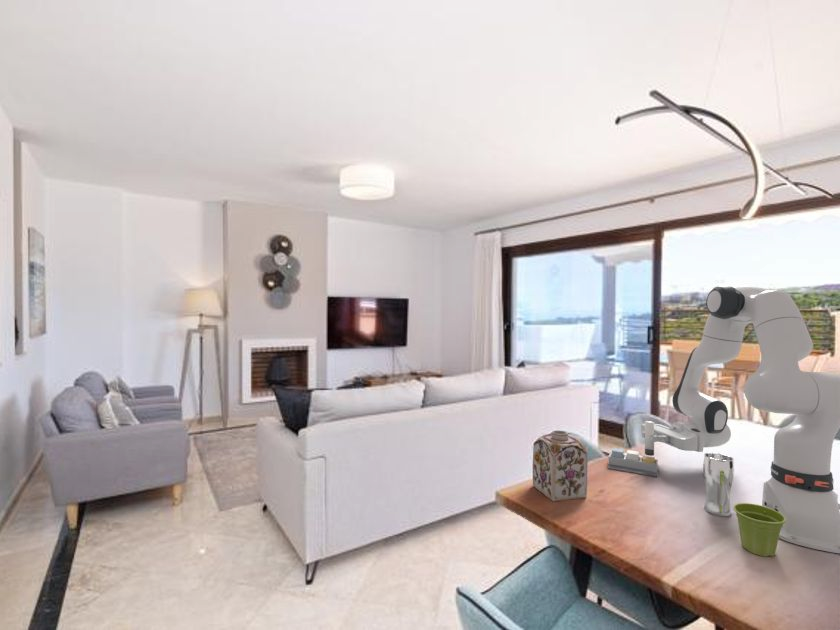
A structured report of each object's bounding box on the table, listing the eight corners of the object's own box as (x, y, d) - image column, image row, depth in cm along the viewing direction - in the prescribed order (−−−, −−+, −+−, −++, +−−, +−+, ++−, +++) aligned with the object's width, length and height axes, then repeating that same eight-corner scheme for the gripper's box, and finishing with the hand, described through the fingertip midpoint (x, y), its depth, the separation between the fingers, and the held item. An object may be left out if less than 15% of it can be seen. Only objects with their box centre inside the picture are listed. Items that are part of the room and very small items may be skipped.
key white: (638, 463, 148) (638, 454, 148) (626, 461, 149) (626, 453, 149) (638, 460, 151) (639, 451, 151) (627, 458, 153) (627, 450, 153)
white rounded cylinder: (653, 456, 145) (654, 423, 145) (644, 454, 147) (644, 422, 147) (654, 453, 148) (654, 421, 148) (644, 452, 149) (645, 420, 149)
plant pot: (786, 567, 92) (787, 527, 92) (732, 551, 98) (732, 513, 98) (783, 548, 100) (784, 510, 100) (733, 534, 106) (734, 499, 105)
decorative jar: (552, 502, 122) (553, 439, 122) (531, 486, 133) (532, 427, 133) (588, 498, 125) (589, 436, 125) (565, 482, 136) (566, 425, 136)
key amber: (654, 469, 145) (654, 460, 145) (642, 467, 147) (642, 458, 147) (654, 466, 149) (654, 457, 148) (642, 464, 150) (642, 455, 150)
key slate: (622, 461, 150) (623, 452, 150) (611, 459, 152) (611, 450, 152) (623, 457, 153) (623, 449, 153) (612, 456, 155) (612, 447, 155)
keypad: (657, 477, 141) (657, 468, 141) (607, 468, 148) (607, 459, 148) (657, 464, 152) (657, 456, 152) (611, 457, 160) (611, 449, 159)
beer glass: (703, 513, 116) (704, 458, 116) (700, 503, 122) (702, 450, 122) (735, 519, 113) (736, 462, 113) (730, 509, 119) (732, 454, 119)
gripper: (661, 418, 160) (627, 420, 157) (707, 434, 140) (669, 435, 137) (661, 435, 160) (627, 437, 157) (706, 453, 140) (668, 455, 137)
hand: (647, 436), depth 147 cm, fingers closed on white rounded cylinder, 3 cm apart
